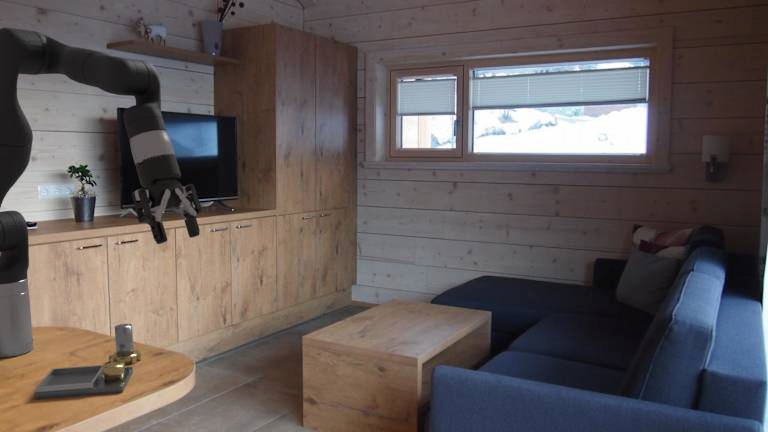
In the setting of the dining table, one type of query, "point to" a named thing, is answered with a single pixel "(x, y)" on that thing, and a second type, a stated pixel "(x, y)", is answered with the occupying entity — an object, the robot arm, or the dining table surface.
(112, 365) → the tray
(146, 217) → the robot arm
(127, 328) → the gear
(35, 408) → the dining table surface
